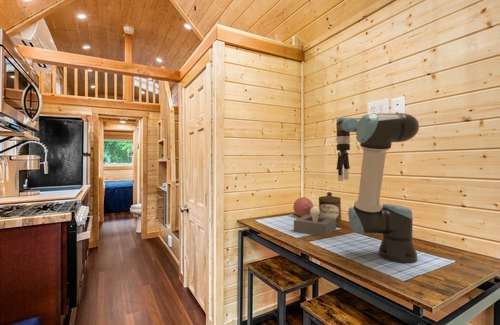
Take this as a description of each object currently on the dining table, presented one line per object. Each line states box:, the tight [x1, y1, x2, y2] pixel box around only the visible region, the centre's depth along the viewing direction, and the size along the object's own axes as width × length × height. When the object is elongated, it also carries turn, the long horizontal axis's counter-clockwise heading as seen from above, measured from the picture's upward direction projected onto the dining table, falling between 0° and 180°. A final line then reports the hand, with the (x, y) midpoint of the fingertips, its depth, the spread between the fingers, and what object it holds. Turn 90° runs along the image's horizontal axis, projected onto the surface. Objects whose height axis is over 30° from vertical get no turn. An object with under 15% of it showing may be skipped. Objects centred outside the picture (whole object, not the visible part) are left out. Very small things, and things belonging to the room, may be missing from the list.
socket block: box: [293, 214, 337, 238], centre depth 161 cm, size 20×20×7 cm
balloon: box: [292, 196, 314, 218], centre depth 198 cm, size 15×20×15 cm
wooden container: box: [318, 191, 342, 227], centre depth 179 cm, size 15×15×22 cm
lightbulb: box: [310, 206, 320, 222], centre depth 161 cm, size 6×6×11 cm
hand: (343, 180), depth 153 cm, fingers open, 11 cm apart
